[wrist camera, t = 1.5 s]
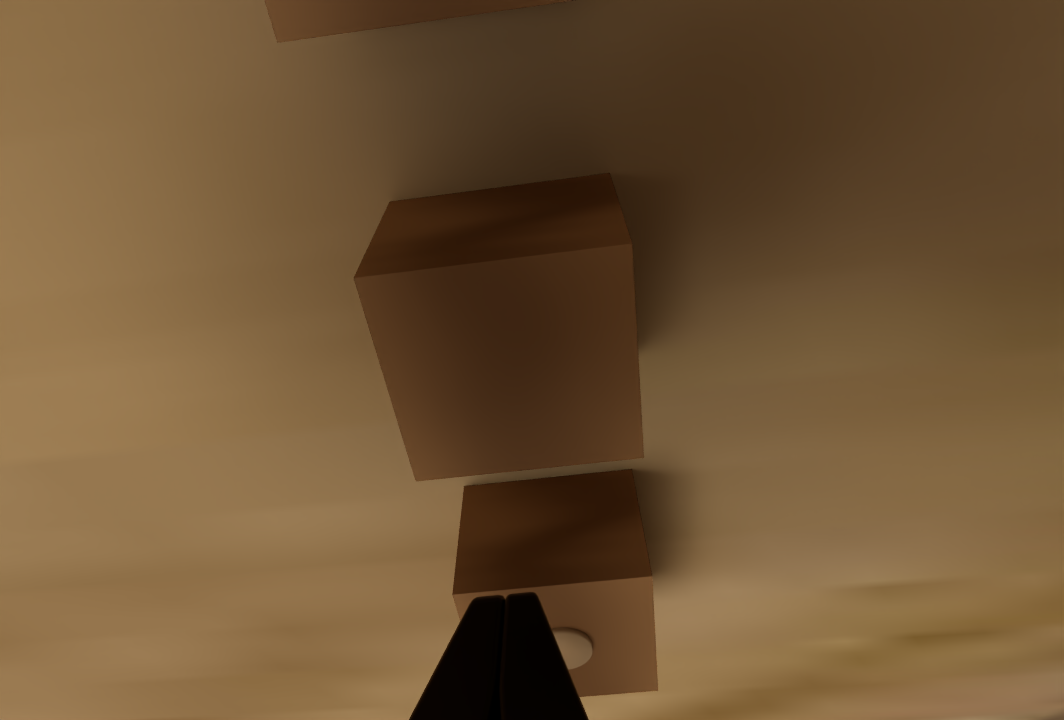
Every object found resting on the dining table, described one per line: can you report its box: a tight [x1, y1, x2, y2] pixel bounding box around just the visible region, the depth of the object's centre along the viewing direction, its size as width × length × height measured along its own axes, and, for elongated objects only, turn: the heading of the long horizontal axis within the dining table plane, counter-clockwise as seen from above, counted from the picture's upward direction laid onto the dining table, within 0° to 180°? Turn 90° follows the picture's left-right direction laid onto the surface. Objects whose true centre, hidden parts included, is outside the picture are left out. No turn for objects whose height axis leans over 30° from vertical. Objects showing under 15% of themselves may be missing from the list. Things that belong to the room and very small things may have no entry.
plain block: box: [354, 173, 644, 481], centre depth 15 cm, size 5×5×4 cm
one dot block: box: [452, 469, 658, 697], centre depth 20 cm, size 5×5×4 cm
